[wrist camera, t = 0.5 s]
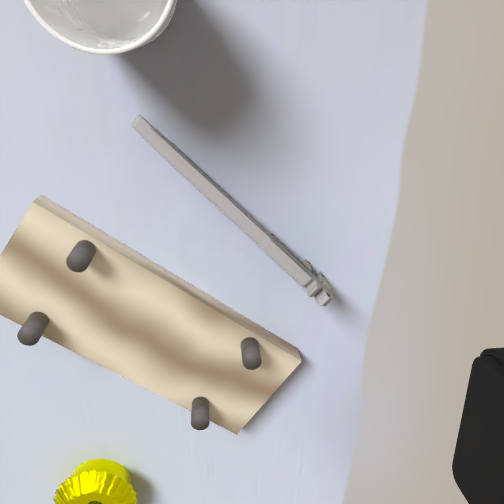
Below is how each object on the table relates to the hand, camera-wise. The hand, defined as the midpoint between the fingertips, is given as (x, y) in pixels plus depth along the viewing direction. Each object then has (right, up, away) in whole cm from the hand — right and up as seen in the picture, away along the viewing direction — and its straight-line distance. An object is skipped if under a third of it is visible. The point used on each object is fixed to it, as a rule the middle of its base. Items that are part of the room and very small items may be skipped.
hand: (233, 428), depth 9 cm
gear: (-15, -20, +40) cm, 48 cm away
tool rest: (-9, -3, +33) cm, 35 cm away
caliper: (-1, +7, +30) cm, 31 cm away
